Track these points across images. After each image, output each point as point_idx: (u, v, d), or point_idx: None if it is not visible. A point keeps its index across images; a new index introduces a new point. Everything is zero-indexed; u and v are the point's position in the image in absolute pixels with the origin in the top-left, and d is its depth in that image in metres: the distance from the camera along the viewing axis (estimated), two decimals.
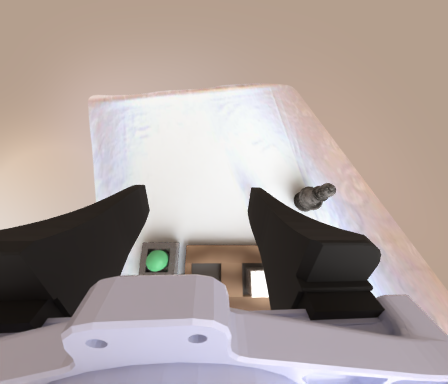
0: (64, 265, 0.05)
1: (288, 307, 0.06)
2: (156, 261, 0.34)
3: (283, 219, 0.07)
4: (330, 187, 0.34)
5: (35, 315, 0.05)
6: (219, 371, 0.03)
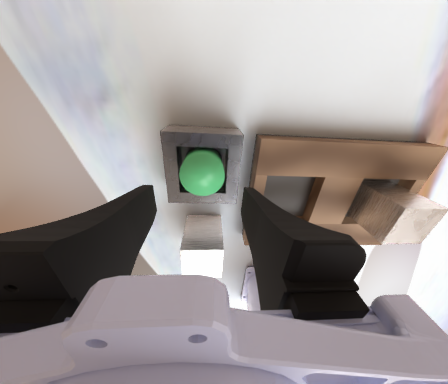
0: (81, 265, 0.05)
1: (275, 308, 0.06)
2: (203, 177, 0.15)
3: (272, 219, 0.07)
4: None
5: (55, 314, 0.05)
6: (219, 371, 0.03)
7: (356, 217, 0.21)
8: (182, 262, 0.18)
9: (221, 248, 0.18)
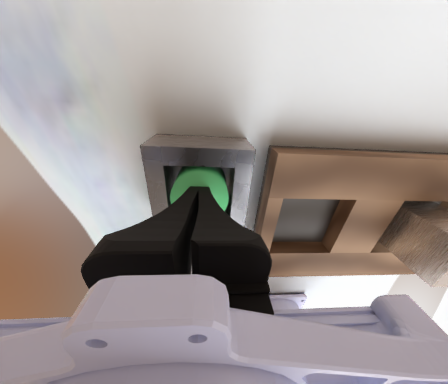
0: (180, 264, 0.06)
1: None
2: None
3: (199, 218, 0.07)
4: None
5: None
6: (219, 371, 0.03)
7: (390, 246, 0.17)
8: None
9: None
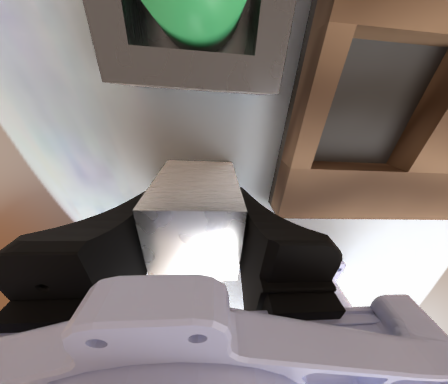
0: (107, 264, 0.05)
1: (254, 308, 0.06)
2: None
3: (253, 219, 0.07)
4: None
5: None
6: (219, 371, 0.03)
7: None
8: (144, 245, 0.07)
9: (241, 208, 0.07)
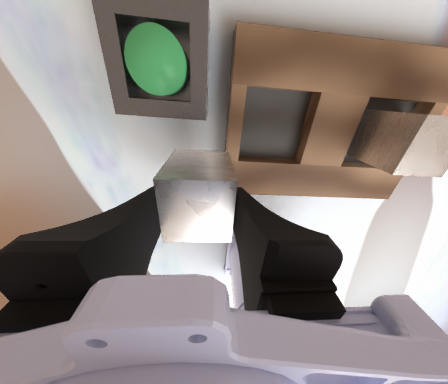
0: (107, 264, 0.05)
1: (255, 308, 0.06)
2: (156, 63, 0.12)
3: (254, 219, 0.07)
4: None
5: None
6: (219, 371, 0.03)
7: (359, 154, 0.17)
8: (160, 208, 0.10)
9: (233, 179, 0.10)
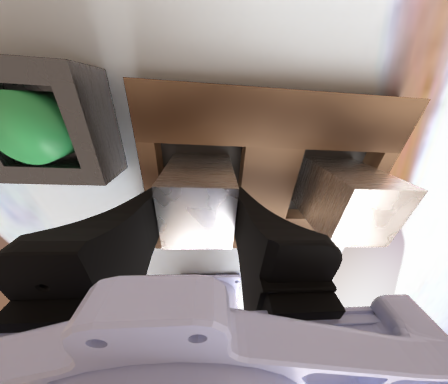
0: (107, 264, 0.05)
1: (254, 308, 0.06)
2: (21, 132, 0.10)
3: (253, 219, 0.07)
4: None
5: None
6: (219, 371, 0.03)
7: (303, 209, 0.15)
8: (159, 216, 0.10)
9: (234, 186, 0.09)
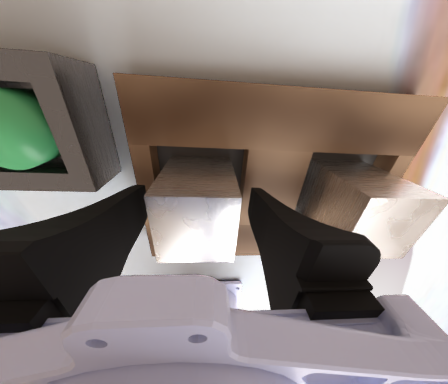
0: (64, 265, 0.05)
1: (288, 307, 0.06)
2: None
3: (283, 219, 0.07)
4: None
5: (35, 315, 0.05)
6: (219, 371, 0.03)
7: (309, 215, 0.14)
8: (152, 228, 0.09)
9: (237, 195, 0.08)
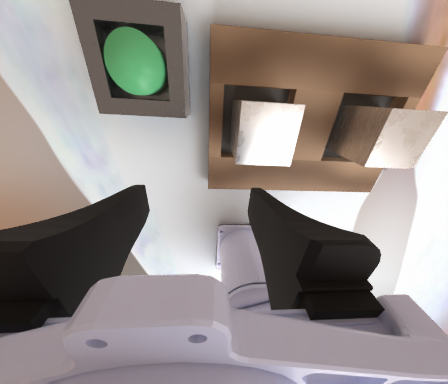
0: (64, 265, 0.05)
1: (288, 307, 0.06)
2: (135, 65, 0.12)
3: (283, 219, 0.07)
4: None
5: (35, 315, 0.05)
6: (219, 371, 0.03)
7: (337, 149, 0.18)
8: (241, 129, 0.12)
9: None
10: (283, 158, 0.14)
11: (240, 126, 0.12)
